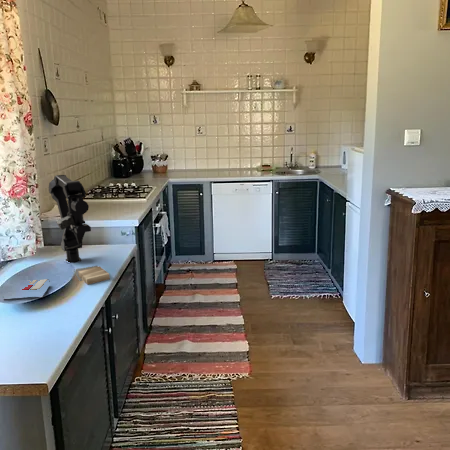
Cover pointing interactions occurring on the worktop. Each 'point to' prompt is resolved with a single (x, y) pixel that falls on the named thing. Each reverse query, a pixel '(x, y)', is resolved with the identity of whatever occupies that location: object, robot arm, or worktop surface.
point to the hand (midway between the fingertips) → (79, 243)
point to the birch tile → (93, 275)
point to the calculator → (37, 285)
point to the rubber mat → (82, 269)
